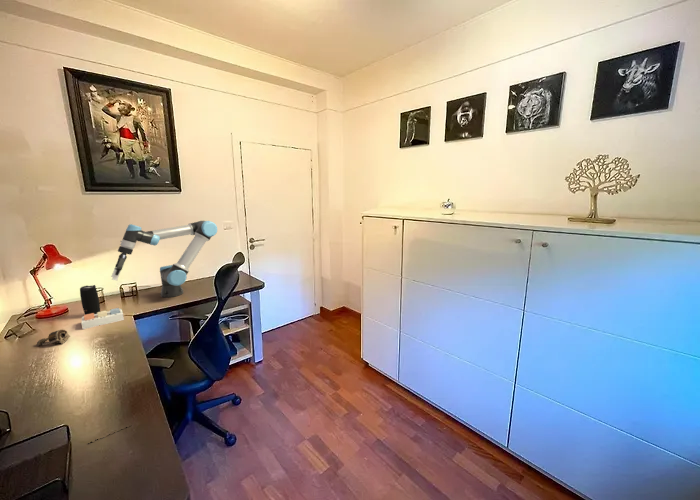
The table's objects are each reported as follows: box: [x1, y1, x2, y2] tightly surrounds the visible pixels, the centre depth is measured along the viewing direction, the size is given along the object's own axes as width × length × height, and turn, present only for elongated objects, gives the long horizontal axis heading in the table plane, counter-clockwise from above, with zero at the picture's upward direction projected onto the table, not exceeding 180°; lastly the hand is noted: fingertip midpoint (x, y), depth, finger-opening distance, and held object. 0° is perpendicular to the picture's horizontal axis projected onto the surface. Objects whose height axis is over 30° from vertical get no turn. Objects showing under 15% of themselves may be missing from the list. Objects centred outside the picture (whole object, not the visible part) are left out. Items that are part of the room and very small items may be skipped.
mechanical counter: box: [36, 328, 71, 347], centre depth 153 cm, size 7×13×10 cm
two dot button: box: [97, 310, 108, 317], centre depth 179 cm, size 4×4×3 cm
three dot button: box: [83, 313, 95, 320], centre depth 176 cm, size 4×4×3 cm
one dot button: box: [109, 307, 120, 315], centre depth 183 cm, size 4×4×3 cm
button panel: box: [81, 308, 125, 330], centre depth 180 cm, size 19×12×4 cm, turn 131°
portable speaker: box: [79, 284, 101, 315], centre depth 190 cm, size 8×9×19 cm
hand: (114, 278), depth 192 cm, fingers open, 13 cm apart
